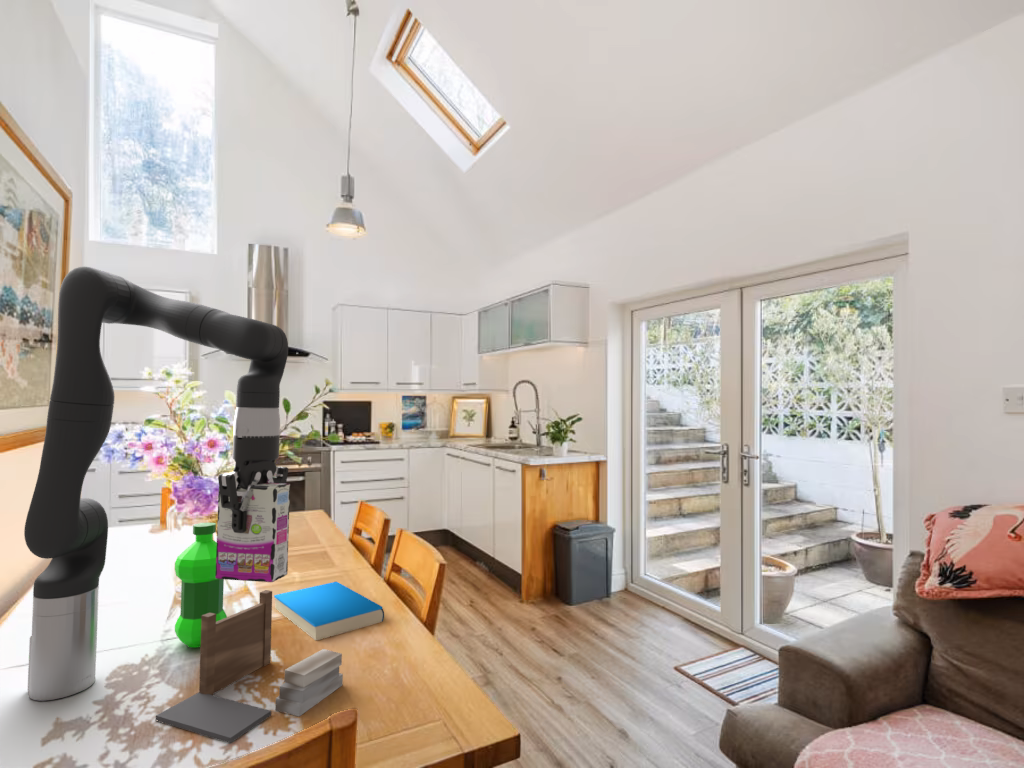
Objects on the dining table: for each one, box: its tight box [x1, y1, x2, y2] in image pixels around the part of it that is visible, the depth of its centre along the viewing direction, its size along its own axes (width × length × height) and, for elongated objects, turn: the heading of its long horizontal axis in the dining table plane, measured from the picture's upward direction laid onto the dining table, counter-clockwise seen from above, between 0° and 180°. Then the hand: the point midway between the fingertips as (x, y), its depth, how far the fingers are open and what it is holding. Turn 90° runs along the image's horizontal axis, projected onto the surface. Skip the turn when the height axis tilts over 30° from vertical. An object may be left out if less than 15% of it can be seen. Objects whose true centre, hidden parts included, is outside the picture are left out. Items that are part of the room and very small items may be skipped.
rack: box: [198, 589, 273, 696], centre depth 103 cm, size 2×15×14 cm, turn 159°
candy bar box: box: [215, 483, 291, 583], centre depth 98 cm, size 11×5×16 cm, turn 81°
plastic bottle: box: [174, 522, 228, 649], centre depth 119 cm, size 10×10×25 cm
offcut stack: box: [275, 648, 344, 717], centre depth 96 cm, size 5×11×6 cm, turn 159°
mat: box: [155, 691, 272, 744], centre depth 90 cm, size 16×8×1 cm, turn 69°
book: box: [273, 581, 385, 641], centre depth 134 cm, size 17×4×25 cm
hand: (253, 528), depth 98 cm, fingers closed on candy bar box, 5 cm apart
